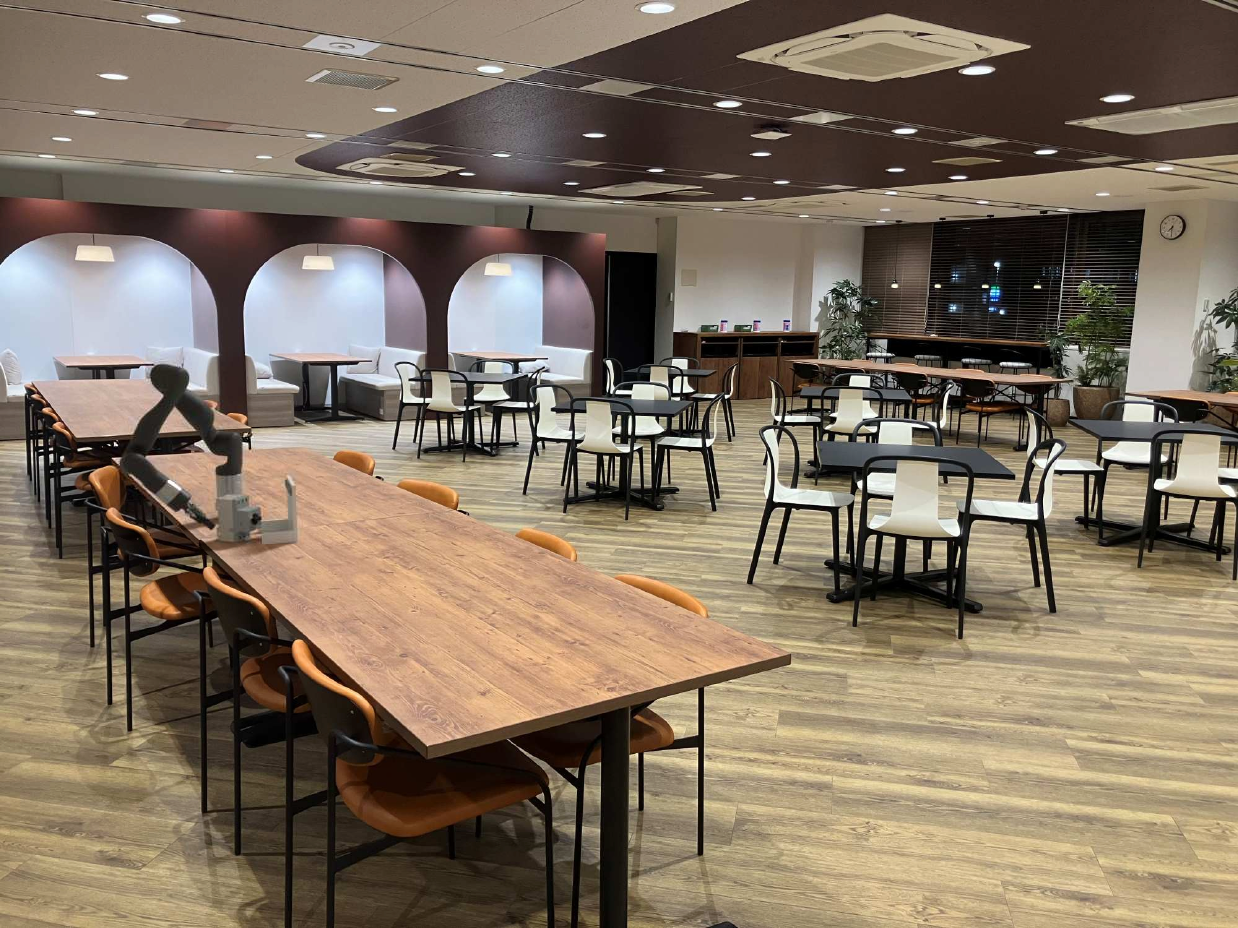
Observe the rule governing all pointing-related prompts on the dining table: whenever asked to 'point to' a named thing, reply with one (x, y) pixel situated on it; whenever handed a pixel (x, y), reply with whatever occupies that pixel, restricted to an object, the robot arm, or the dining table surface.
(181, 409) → the robot arm
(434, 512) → the dining table surface
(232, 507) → the circuit breaker
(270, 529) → the panel bay
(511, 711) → the dining table surface
